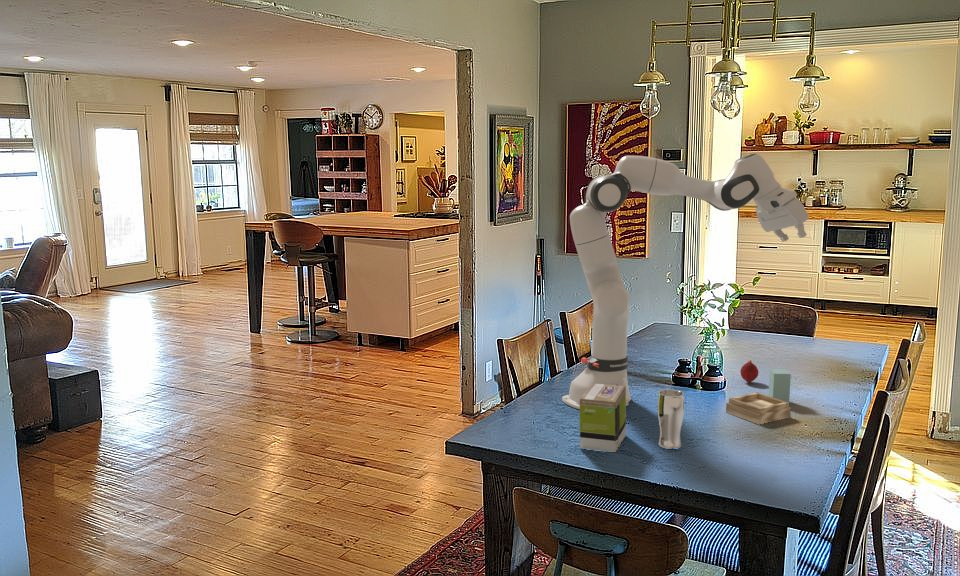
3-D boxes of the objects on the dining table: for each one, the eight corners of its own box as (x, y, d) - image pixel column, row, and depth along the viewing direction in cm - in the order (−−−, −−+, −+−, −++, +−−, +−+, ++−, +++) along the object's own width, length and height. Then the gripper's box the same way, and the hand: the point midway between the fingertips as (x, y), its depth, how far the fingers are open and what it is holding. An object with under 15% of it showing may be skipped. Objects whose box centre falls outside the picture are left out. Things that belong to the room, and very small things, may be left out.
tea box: (591, 431, 225) (592, 381, 223) (626, 435, 222) (627, 385, 219) (578, 450, 212) (579, 397, 209) (615, 454, 208) (616, 401, 206)
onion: (758, 385, 267) (760, 362, 265) (741, 384, 268) (742, 362, 267) (756, 380, 272) (757, 358, 271) (739, 380, 274) (740, 357, 272)
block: (772, 404, 247) (774, 373, 245) (768, 399, 252) (770, 369, 250) (789, 404, 246) (790, 374, 245) (784, 399, 251) (786, 369, 250)
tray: (758, 424, 229) (759, 410, 228) (725, 412, 240) (726, 398, 239) (790, 417, 235) (791, 402, 234) (756, 405, 246) (757, 391, 245)
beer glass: (651, 446, 214) (652, 393, 211) (665, 439, 218) (667, 387, 216) (673, 452, 209) (675, 398, 206) (687, 445, 213) (689, 392, 211)
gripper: (746, 211, 252) (768, 247, 253) (782, 200, 232) (806, 240, 233) (761, 201, 253) (783, 237, 254) (798, 189, 233) (822, 229, 234)
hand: (794, 238), depth 243 cm, fingers open, 8 cm apart
